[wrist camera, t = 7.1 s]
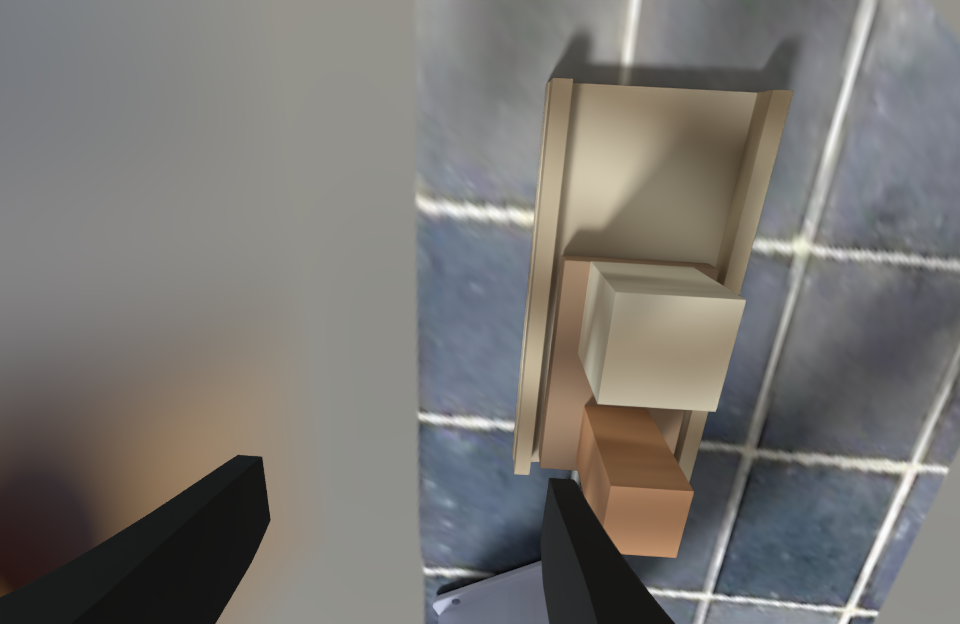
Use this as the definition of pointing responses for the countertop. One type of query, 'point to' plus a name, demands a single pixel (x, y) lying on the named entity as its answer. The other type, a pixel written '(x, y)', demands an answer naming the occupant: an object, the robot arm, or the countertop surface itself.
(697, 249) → the rail bed
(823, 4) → the countertop surface
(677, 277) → the cube
